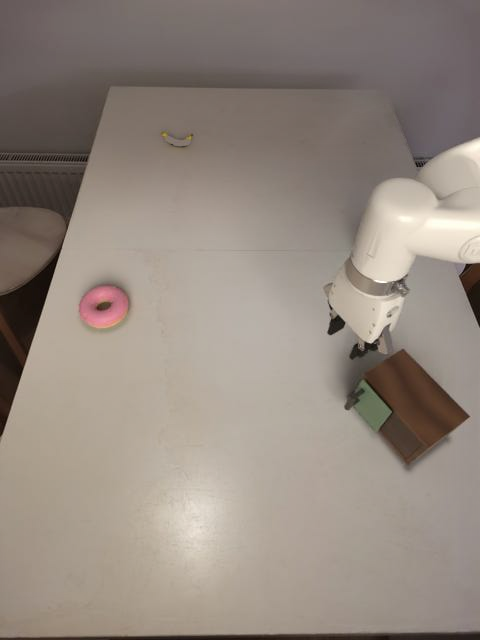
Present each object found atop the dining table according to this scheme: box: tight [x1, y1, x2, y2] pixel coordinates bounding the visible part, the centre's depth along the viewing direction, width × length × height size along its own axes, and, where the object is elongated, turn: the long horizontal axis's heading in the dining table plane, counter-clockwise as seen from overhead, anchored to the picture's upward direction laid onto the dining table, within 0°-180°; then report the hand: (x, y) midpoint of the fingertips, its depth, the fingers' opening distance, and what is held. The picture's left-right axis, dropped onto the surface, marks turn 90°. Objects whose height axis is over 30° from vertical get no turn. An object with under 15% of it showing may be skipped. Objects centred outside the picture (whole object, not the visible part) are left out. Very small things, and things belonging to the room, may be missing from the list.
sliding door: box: [343, 380, 392, 433], centre depth 79 cm, size 4×7×9 cm, turn 33°
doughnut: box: [77, 284, 130, 329], centre depth 96 cm, size 11×11×4 cm
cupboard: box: [352, 348, 471, 467], centre depth 80 cm, size 10×16×10 cm, turn 33°
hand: (346, 342), depth 71 cm, fingers open, 4 cm apart
